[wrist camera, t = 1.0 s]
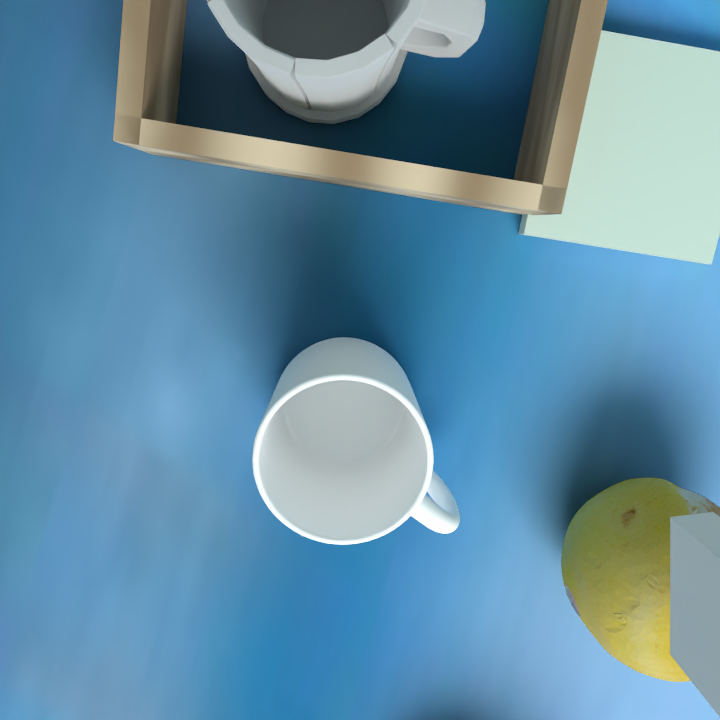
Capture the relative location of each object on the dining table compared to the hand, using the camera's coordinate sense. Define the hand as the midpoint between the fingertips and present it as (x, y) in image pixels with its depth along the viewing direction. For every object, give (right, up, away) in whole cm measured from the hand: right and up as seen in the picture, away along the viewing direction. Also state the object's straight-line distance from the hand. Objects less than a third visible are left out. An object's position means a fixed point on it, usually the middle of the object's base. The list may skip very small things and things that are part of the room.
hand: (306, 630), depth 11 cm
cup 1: (0, +22, +24) cm, 33 cm away
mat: (+16, +17, +25) cm, 34 cm away
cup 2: (+1, +1, +28) cm, 28 cm away
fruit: (+18, -6, +30) cm, 36 cm away
